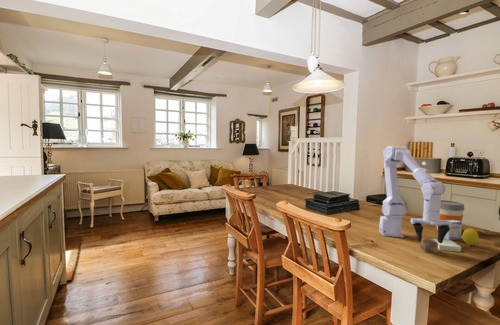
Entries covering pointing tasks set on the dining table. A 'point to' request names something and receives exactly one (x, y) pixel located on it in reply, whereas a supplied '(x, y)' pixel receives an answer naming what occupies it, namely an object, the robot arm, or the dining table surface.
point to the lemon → (470, 236)
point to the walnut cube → (429, 245)
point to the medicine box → (454, 230)
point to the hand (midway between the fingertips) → (429, 241)
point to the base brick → (448, 245)
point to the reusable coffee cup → (451, 210)
